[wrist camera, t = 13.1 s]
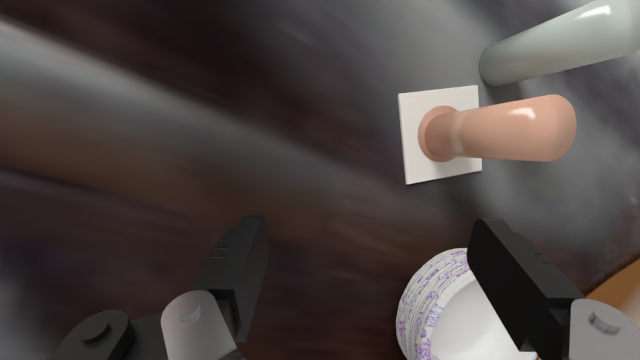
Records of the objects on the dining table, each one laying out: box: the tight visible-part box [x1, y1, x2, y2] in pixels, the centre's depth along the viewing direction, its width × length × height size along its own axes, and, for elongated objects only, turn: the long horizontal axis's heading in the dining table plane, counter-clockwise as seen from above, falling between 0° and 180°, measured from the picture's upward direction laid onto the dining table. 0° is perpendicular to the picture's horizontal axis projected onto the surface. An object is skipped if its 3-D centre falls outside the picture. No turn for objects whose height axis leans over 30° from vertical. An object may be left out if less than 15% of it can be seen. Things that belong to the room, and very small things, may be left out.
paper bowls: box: [396, 248, 538, 360], centre depth 31 cm, size 15×15×8 cm
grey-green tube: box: [479, 0, 640, 87], centre depth 27 cm, size 5×5×12 cm
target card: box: [398, 85, 482, 184], centre depth 32 cm, size 10×10×1 cm
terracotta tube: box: [425, 95, 577, 162], centre depth 26 cm, size 5×5×12 cm
